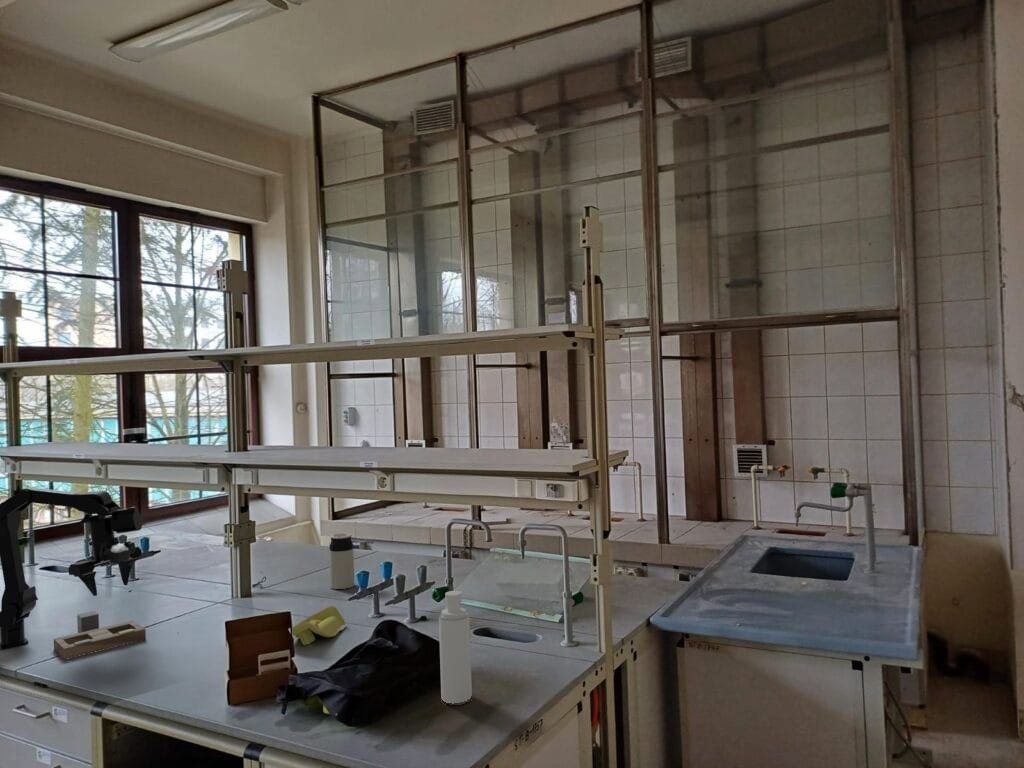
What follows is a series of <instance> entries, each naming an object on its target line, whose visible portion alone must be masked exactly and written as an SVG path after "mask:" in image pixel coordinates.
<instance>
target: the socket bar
mask: <svg viewBox="0 0 1024 768" xmlns="http://www.w3.org/2000/svg"><path fill="white" fill-rule="evenodd" d="M146 631H147V630H146V628H145V627H144V626H142V625H140V624H139V623H138V622H135V621H134V620H130V621H125V622H121V623H116V624H113V625H107V626H104V627H99V628H98V629H94V630H90V631H85V632H81V633H78V632H77V633H72V634H70V635H69V634H68V635H65V636H61V637H57V638H53V650H54V652H55V653H57V654H58V655H59V656H60V657H61V656H62V657H63V658H64V659H66V660H68V659H67V658H70V659H72V658H71V657H74V658H76V657H75V656H78V657H80V656H79V655H82V656H84V655H83V654H86V655H89V654H88V653H90V654H92V653H91V652H94V653H96V652H95V651H98V652H100V651H99V650H102V651H104V650H103V649H106V650H108V649H107V648H110V649H112V648H111V647H114V648H116V647H115V646H118V647H121V646H120V645H122V646H124V645H123V644H126V645H128V644H127V643H130V644H132V643H131V642H134V643H136V642H135V641H138V642H141V641H140V640H142V641H144V640H143V639H146V638H147V637H146V633H147V632H146ZM62 657H61V658H62ZM63 658H62V659H63ZM64 659H63V660H64Z"/></svg>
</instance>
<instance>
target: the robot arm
mask: <svg viewBox="0 0 1024 768" xmlns="http://www.w3.org/2000/svg"><path fill="white" fill-rule="evenodd" d="M31 504H41V505H47V506H58V507H59V506H60V507H67V508H68V507H69V508H71V509H75V510H77V511H79V512H82V513H86V514H85V515H84V517H83V518H82V519H81V520H80V521H79V524H81V525H83V524H87V523H88V524H89V525H88V526H89V527H88V528H89V533H90V539H91V540H90V541H88V546H90V547H91V546H92V553H93V555H91V556H90V558H91V560H81V561H77V562H73V563H71V564H69V566H68V568H67V569H68V575H69V576H73V577H74V578H75V577H76V578H77V577H78V578H79V580H81V582H82V583H83V584H84V585H85V587H86V588H87V590H89V592H90V593H91V594H92V595H93V597H97V596H98V590H97V584H96V579H95V578H96V575H97V571H95V569H96V568H97V567H100V566H104V565H106V564H110V563H113V564H118V570H119V573H120V577H121V581H122V584H123V586H128V584H129V580H130V574H131V572H132V571H131V570H132V568H133V565H134V564H135V563H136V561H138V560H139V557H143V551H142V550H143V549H141V547H140V546H136V545H135V541H133V540H128V541H125V542H123V543H120V542H119V537H118V536H117V537H116V536H115V533H116V534H124V533H130V532H136V531H141V529H142V528H143V516H142V514H141V512H140V511H139V510H138V507H137V506H132V507H131V506H130V508H129V507H128V508H122V507H120V505H119V504H118V503H117V502H115V501H114V500H113V498H112V496H111V494H110V493H109V492H107V491H106V490H97V491H96V490H95V491H83V492H76V491H75V492H74V491H66V490H57V489H49V488H48V489H47V488H39V487H36V486H29V487H26V488H25V487H24V488H22V489H21V490H19V491H18V492H16V493H15V494H14V495H12V496H11V497H9V498H8V499H5V500H4V501H2V502H1V503H0V565H1V571H2V576H3V582H4V583H3V585H4V591H3V593H2V596H1V601H0V603H1V605H0V607H1V608H0V650H5V649H9V648H13V647H17V646H23V645H26V644H29V640H28V639H27V638H26V635H25V619H27V618H28V617H30V615H31V612H32V611H33V610H34V609H35V607H36V605H37V604H36V603H37V601H39V598H38V597H37V593H36V592H37V588H36V586H35V585H34V586H29V584H28V583H27V582H26V579H25V570H24V566H23V560H22V554H21V547H20V542H19V535H18V531H19V528H20V526H21V521H22V519H21V518H22V514H21V513H22V512H24V511H25V510H26V509H27V508H28V507H29V506H31Z"/></svg>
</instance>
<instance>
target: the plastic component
mask: <svg viewBox="0 0 1024 768" xmlns="http://www.w3.org/2000/svg"><path fill="white" fill-rule="evenodd" d="M341 614H342V613H340V611H339V609H338V608H337V607H336V606H334V605H330V606H328V607H326V608H325V609H322V610H320V611H318V612H316V613H314V614H312V615H311V616H308V617H307V618H305V619H303V620H302V621H300V622H299V623H297V624H296V625H294V626H292V627H291V628H292V634H293V636H292V637H295V639H296V638H297V639H298V638H299V639H300V641H301V643H302V645H303V643H304V644H307V645H309V644H311V643H313V642H314V641H315V640H316V637H315V635H314V633H315V634H317V635H319V636H321V637H324V638H332V637H335V636H337V635H338V634H339V633H338V632H339V631H340V630H341V629H340V630H339V631H338V629H339V628H340V627H341V626H342V625H345V624H346V620H345V619H344V617H343V616H342V615H341ZM346 625H347V624H346ZM337 633H338V634H337ZM336 634H337V635H336Z"/></svg>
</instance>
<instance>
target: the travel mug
mask: <svg viewBox="0 0 1024 768" xmlns="http://www.w3.org/2000/svg"><path fill="white" fill-rule="evenodd" d="M352 536H353V534H352V533H350V532H338V533H337V532H336V533H333V534H330V535H329V538H330V544H329V571H330V572H329V574H330V589H333V590H336V589H344V590H347V589H346V588H349V589H351V587H352V588H353V587H355V563H354V562H355V558H354V542H353V541H352Z"/></svg>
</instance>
